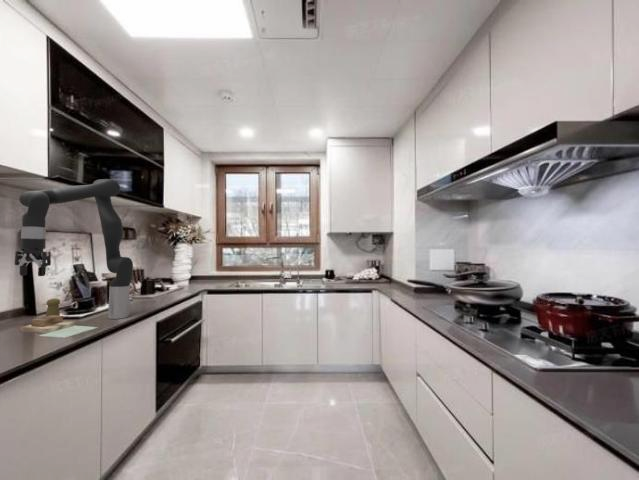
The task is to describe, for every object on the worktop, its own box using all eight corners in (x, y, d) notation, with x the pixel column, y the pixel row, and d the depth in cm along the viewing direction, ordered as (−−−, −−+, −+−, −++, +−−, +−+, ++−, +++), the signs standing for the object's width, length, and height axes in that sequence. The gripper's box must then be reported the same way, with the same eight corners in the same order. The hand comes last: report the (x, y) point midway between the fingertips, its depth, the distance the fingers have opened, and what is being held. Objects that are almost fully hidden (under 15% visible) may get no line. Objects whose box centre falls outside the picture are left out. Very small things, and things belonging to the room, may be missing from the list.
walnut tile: (51, 321, 141) (52, 315, 141) (62, 322, 140) (63, 315, 140) (31, 326, 132) (31, 319, 132) (42, 327, 131) (43, 320, 131)
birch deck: (50, 324, 143) (50, 320, 143) (75, 325, 141) (75, 321, 141) (20, 331, 130) (20, 327, 130) (47, 333, 128) (47, 329, 128)
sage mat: (74, 326, 140) (74, 325, 140) (97, 327, 139) (97, 327, 139) (38, 336, 124) (38, 335, 124) (64, 338, 123) (64, 337, 123)
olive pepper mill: (63, 319, 152) (64, 298, 153) (51, 322, 146) (52, 300, 147) (53, 318, 153) (54, 297, 153) (41, 321, 147) (42, 299, 147)
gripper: (57, 238, 126) (56, 275, 126) (28, 237, 128) (27, 274, 128) (39, 237, 119) (38, 277, 119) (8, 237, 120) (7, 276, 120)
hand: (32, 275), depth 123 cm, fingers open, 8 cm apart
